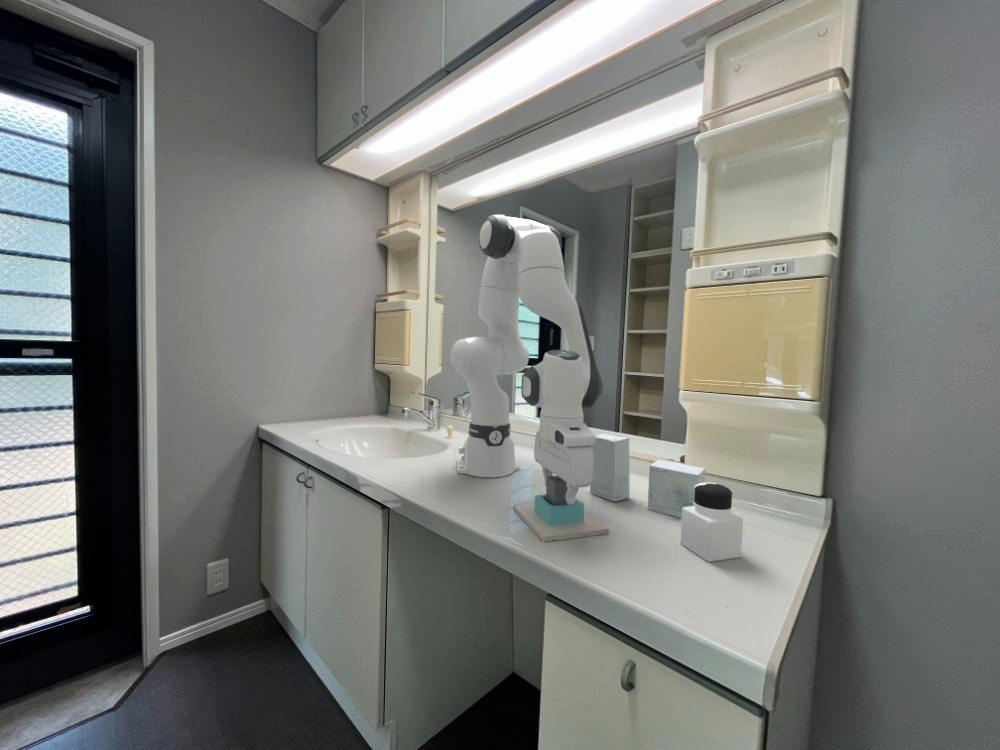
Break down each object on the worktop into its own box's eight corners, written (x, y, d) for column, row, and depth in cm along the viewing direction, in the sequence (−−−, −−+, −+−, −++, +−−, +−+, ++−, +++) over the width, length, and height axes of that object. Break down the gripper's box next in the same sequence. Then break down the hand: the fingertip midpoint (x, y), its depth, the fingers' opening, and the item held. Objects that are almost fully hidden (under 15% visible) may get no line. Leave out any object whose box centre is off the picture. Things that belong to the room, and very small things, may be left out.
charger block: (545, 513, 88) (546, 469, 87) (562, 511, 89) (564, 468, 89) (553, 520, 84) (555, 475, 84) (571, 518, 85) (572, 473, 85)
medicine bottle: (741, 557, 73) (745, 490, 72) (708, 563, 71) (712, 493, 70) (710, 539, 79) (713, 478, 79) (679, 544, 77) (682, 480, 77)
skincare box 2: (646, 509, 94) (648, 464, 94) (656, 502, 99) (658, 458, 99) (695, 522, 88) (698, 473, 87) (703, 513, 92) (706, 467, 92)
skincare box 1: (629, 498, 101) (632, 438, 100) (613, 503, 98) (615, 440, 97) (603, 488, 108) (605, 432, 107) (587, 492, 105) (589, 434, 104)
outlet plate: (513, 510, 92) (514, 490, 92) (570, 504, 96) (571, 485, 96) (542, 542, 77) (543, 518, 77) (608, 533, 81) (609, 511, 81)
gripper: (528, 420, 94) (526, 480, 95) (570, 440, 75) (567, 514, 76) (553, 420, 96) (551, 478, 97) (600, 438, 77) (597, 511, 78)
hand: (559, 494), depth 86 cm, fingers open, 8 cm apart
